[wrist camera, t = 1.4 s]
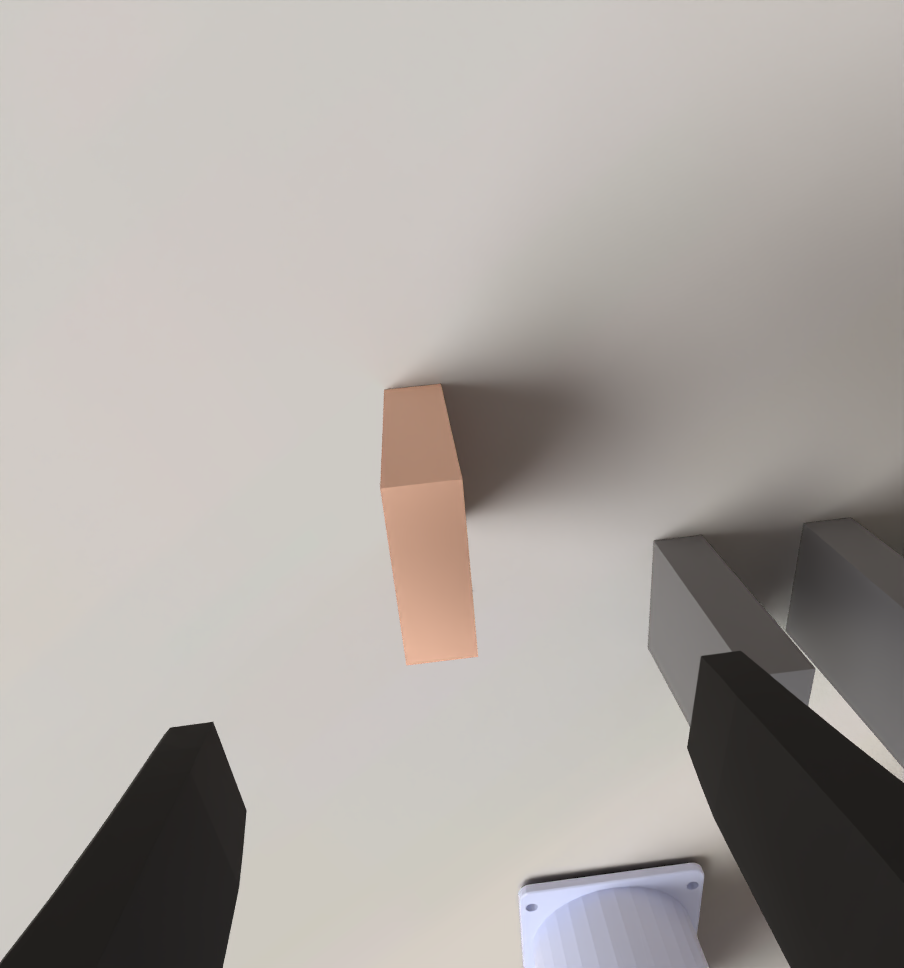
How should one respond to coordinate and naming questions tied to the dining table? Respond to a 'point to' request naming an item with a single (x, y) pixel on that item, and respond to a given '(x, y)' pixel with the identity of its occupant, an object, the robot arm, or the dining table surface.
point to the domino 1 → (426, 526)
